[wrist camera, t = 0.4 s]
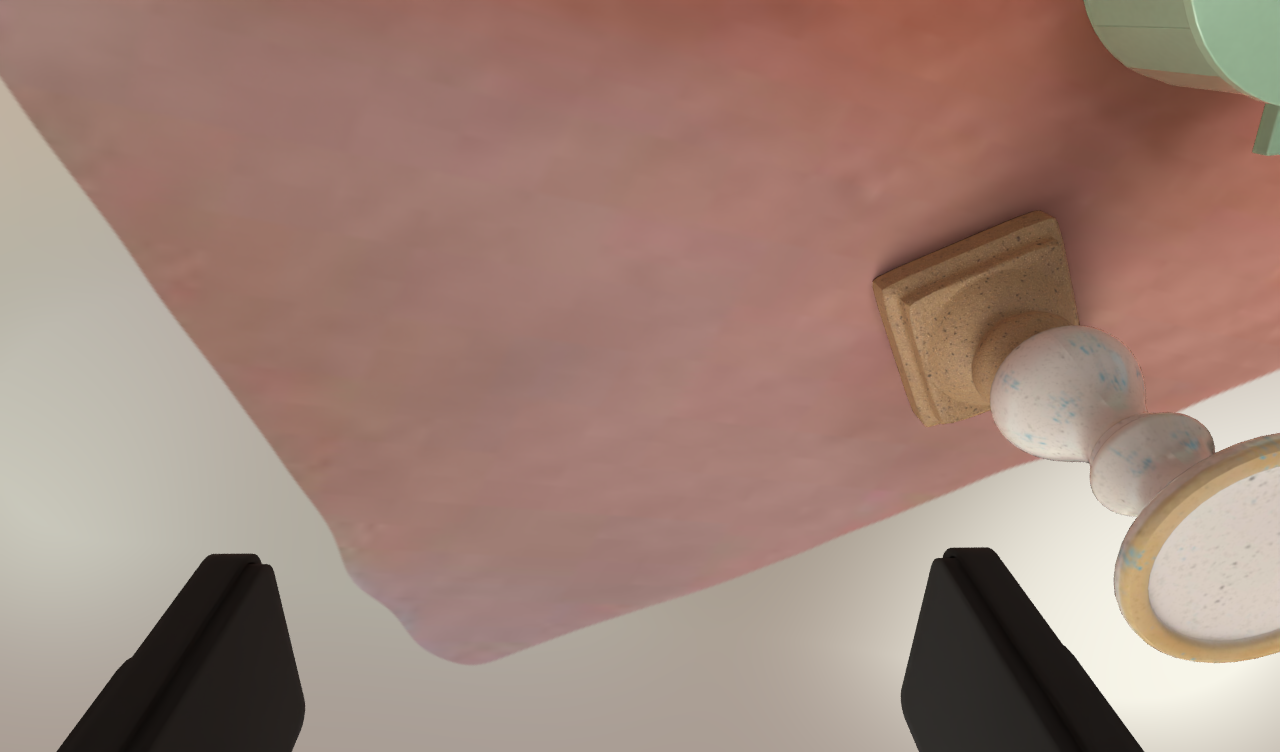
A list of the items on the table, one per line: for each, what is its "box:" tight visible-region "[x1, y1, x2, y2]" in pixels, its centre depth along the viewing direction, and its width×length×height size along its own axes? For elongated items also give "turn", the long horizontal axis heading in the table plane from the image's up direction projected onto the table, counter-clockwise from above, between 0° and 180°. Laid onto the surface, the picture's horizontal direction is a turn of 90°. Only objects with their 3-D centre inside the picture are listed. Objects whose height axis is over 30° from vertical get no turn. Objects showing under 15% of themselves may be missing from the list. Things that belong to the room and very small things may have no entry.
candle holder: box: [873, 211, 1280, 663], centre depth 38 cm, size 11×11×24 cm
